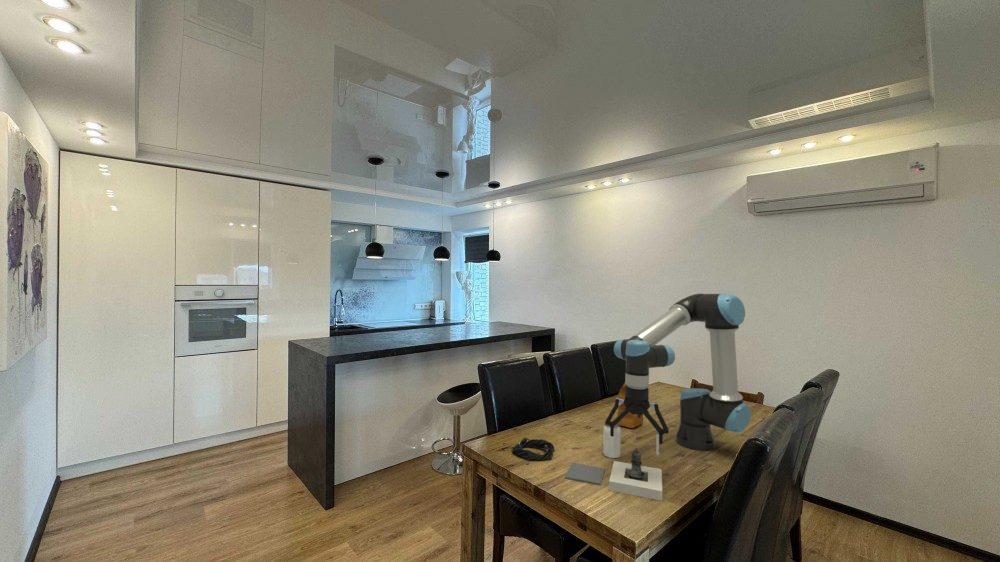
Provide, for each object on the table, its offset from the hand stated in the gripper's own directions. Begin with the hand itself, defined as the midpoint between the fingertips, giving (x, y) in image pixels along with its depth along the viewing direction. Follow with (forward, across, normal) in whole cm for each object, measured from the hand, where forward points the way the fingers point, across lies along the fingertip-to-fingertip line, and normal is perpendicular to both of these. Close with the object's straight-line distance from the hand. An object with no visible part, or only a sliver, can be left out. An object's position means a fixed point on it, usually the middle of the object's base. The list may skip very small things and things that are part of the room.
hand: (635, 449), depth 131 cm
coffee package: (+11, +5, -59) cm, 61 cm away
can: (+12, +10, -20) cm, 25 cm away
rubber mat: (+12, +17, 0) cm, 20 cm away
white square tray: (+12, 0, 0) cm, 12 cm away
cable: (+12, +39, -9) cm, 42 cm away
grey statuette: (+12, 0, 0) cm, 12 cm away
